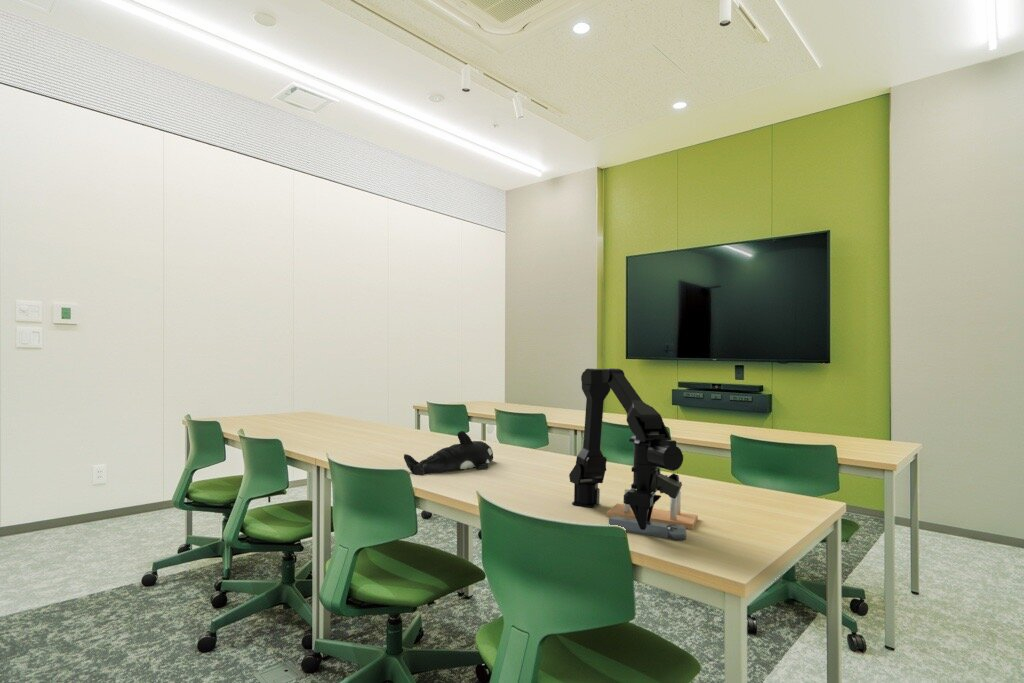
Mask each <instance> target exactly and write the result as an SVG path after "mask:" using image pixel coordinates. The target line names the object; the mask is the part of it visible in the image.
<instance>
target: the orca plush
mask: <svg viewBox="0 0 1024 683" xmlns="http://www.w3.org/2000/svg"><path fill="white" fill-rule="evenodd" d="M457 438H458V441H459V443H455V444H452V445H450V446H447V447H443V448H441V449H439V450H437V451H436V452H434V453H433V454H432V455H430V456H428V457H426V458H425V459H423V460H420V461H417V460H416V459H415V458H414V457H413V456H412V455H410V454H406V453H404V454H403V459H404V461H405V464H406V467H407V468H408V469H409V471H410V472H411V473H412V474H413V475H417V476H421V477H422V476H424V475H425V474H436V473H435V472H437V473H443V472H442V471H445V472H451V471H450V470H459V471H462V469H464V470H468V469H467V468H470V469H474V468H473V467H476V469H477V468H478V469H477V470H483V468H485V469H487V468H486V467H488V468H489V464H491V463H492V461H493V459H494V452H493V449H492V447H491V446H490V445H489V444H487V443H486V442H485V441H482V440H481V441H480V440H472V438H471V437H470V436H469V435H468V434H467V432H465V431H463V430H459V431H458V432H457ZM490 462H491V463H490Z"/></svg>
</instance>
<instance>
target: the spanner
mask: <svg viewBox="0 0 1024 683" xmlns="http://www.w3.org/2000/svg"><path fill="white" fill-rule="evenodd" d="M609 524H610V525H618V526H621V527H624V528H625V529H626V531H627V533H631V534H632V533H633V534H640V535H646V536H652V537H658V538H664V539H668V540H671V541H677V542H678V541H679V542H682V541H685V540H687V528H686V527H684V526H682V525H677V524H665V523H658V522H652V521H647V523H646V528H645V530H641V529H640V527H639V525H638V522H637V520H636V519H631V518H625V517H618V516H611V517H609V518H608V525H609ZM626 531H625V532H626Z"/></svg>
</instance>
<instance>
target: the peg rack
mask: <svg viewBox="0 0 1024 683" xmlns="http://www.w3.org/2000/svg"><path fill="white" fill-rule="evenodd" d="M630 489H631V484H630V487H629V489H624V494H626V493H627V492H628V491H629V490H630ZM635 490H637V489H635ZM681 494H682V491H681V490H680V491H679V494H678V496H677V497H676V498H675V499H674V498H671V497H669V499H670V500H669V501H670V502H669V503H670V507H669V510H666V509H660V508H653V510H652V514H651V518H650V521H652V522H658V523H665V524H677V525H682V526H684V527H686V529H689V530H693V529H694V527H695V526H696V523H697V521H698V519H699V518H698V517H699V515H698V514H694V513H687V512H681V506H682V505H681V503H682V502H681V500H682V498H681ZM606 516H607V517H609V518H610V517H611V516H618V517H625V518H631V519H636V518H635V515H634V513H633V511H632V509H631V507H630V505H629V504H624V503H623V504H622V503H618V502H617V503H615V505H613V506H612V507H611V508H610V509H608V510H607V511H606Z"/></svg>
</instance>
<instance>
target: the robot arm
mask: <svg viewBox="0 0 1024 683" xmlns="http://www.w3.org/2000/svg"><path fill="white" fill-rule="evenodd" d="M580 381H581V390H582V392H583V394H584V396H585V398H586V401H585V415H584V416H585V417H584V428H583V429H584V432H583V442H582V447H581V450H580V451H579V453H578V454H577V456H576V460H575V465H574V467H573V468H572V470H571V471H570V473H569V475H568V477H569V482H570V483H572V484H574V489H573V490H574V491H573V493H574V494H573V501H572V502H571V504H572V505H575V506H582V507H588V508H594V507H596V506H598V505H599V504H600V493H601V490H600V488H599V484H603V482H604V478H605V473H606V472H607V462H608V461H607V460H608V458H607V457H606V456H604V454H603V452H602V450H601V442H602V431H603V418H604V404H605V399H606V398H607V397H608V395H609V393H610V392H611V391H612V392H613V394H614V395H615V397H616V398H617V400H618V402H619V403H620V404H621V406H622V407H623V409H624V411H625V414H626V422H627V425H628V427H629V429H630V431H631V433H632V434H633V435H632V436H631V437H630V438H629V440H628V441H629V443H633V466H631V472H632V473H633V475H632V477H633V479H632V480H633V482H632V483H631V484H630V485H631V489H630V488H629V489H628V490H629V491H628V492H627V493H626V494H625V493H624V494H623V504H629V505H630V507H631V509H632V511H633V513H634V515H635V518H636V520H637V522H638V525H639V527H640V529H641V530H645V528H646V523H647V521H650V518H651V514H652V510H653V509H654V505H655V504H656V503H657V502H658V501H659V500H660V499H661V497H662V495H660V494H665V495H667V496H668V497H669V498H670V497H671V498H674V499H675V498H676V497H677V496H678V494H679V491H681V490H682V486H683V483H682V481H680V476H679V475H678V474H676V473H671V474H670V475H669V476H668V475H667V474H666V475H665V474H662V473H661V469H665V470H668V471H671V472H674V471H677V470H679V469H680V468H681V466H682V465H683V462H684V455H683V451H682V449H681V448H680V447H678V446H677V440H673V439H671V436H670V432H669V431H668V429H667V428H666V425H665V423H664V419H663V417H662V415H661V414H660V413H659V412H658V411H657V410H656V409H655V408H654V407H653V406H651V405H649V404H648V403H645V402H644V401H643V400H642V398H641V397H640V395H639V394H638V392H637V391H636V390H635V389H634V387H633V386H632V384H631V382H629V380H628V378H627V377H626V375H625V372H624V370H622V369H621V368H616V367H615V368H610V367H609V368H586V369H585V370H584V371H583V372H582V374H581V376H580ZM635 489H636V490H635ZM656 492H659V493H660V494H656Z"/></svg>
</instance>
